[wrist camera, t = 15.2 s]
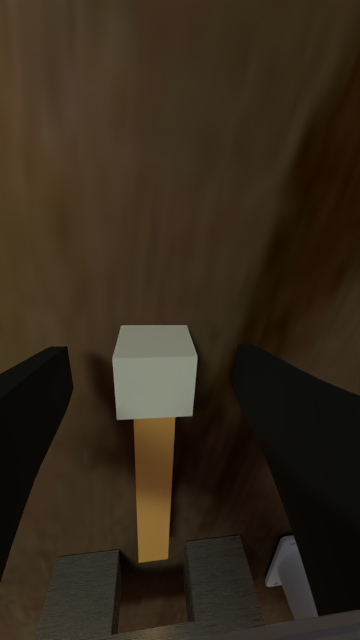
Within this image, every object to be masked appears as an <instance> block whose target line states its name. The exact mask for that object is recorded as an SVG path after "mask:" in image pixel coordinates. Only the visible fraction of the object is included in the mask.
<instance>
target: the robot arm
mask: <svg viewBox="0 0 360 640" xmlns="http://www.w3.org/2000/svg"><path fill="white" fill-rule="evenodd" d="M232 385H233V388H234V391H235V394H236V397H237V400H238V403H239V405H240V407H241V409H242V411H243V413H244V415H245V417H246V419H247V421H248V423H249V425H250V427H251V429H252V431H253V433H254V435H255V437H256V439H257V441H258V443H259V445H260V447H261V449H262V451H263V454H264V456H265V458H266V460H267V463H268V465H269V468H270V471H271V473H272V476H273V478H274V481H275V484H276V486H277V489H278V492H279V495H280V497H281V500H282V503H283V506H284V509H285V512H286V514H287V517H288V520H289V523H290V526H291V529H292V532H293V535H291V536H284V537H282V538H281V539H280V541H279V544H278V547H277V549H276V552H275V555H274V557H273V560H272V563H271V565H270V568H269V571H268V573H267V576H266V579H265V583H266V586H268V587H273V586H279V585H282V587H283V590H284V592H285V595H286V598H287V601H288V603H289V606H290V609H291V612H292V614H293V617H294V620H295V621H289V622H283V623H277V624H271V625H265V626H259V627H253V628H247V629H242V630H236V631H230V632H224V633H218V634H212V635H206V636H200V637H194V638H188V639H182V640H360V396H359V395H356V394H354V393H351V392H348V391H346V390H344V389H341V388H339V387H336V386H334V385H332V384H329V383H327V382H325V381H322V380H320V379H318V378H316V377H314V376H312V375H310V374H308V373H306V372H304V371H302V370H300V369H298V368H296V367H294V366H292V365H290V364H288V363H287V362H285V361H283V360H281V359H279V358H277V357H276V356H274V355H272V354H270V353H268V352H267V351H265V350H263V349H261V348H259V347H257V346H255V345H252V344H238V347H237V353H236V360H235V366H234V372H233V378H232ZM72 391H73V381H72V375H71V368H70V362H69V355H68V349H67V346H64V347H49V348H47V349H45V350H43V351H41V352H39V353H37V354H35V355H34V356H32V357H30V358H28V359H27V360H25V361H23V362H21V363H19V364H18V365H16V366H14V367H12V368H10V369H9V370H7V371H5V372H3V373H1V374H0V582H1V578H2V575H3V572H4V569H5V566H6V562H7V559H8V556H9V553H10V550H11V547H12V544H13V541H14V538H15V535H16V532H17V529H18V526H19V523H20V520H21V517H22V514H23V511H24V508H25V505H26V503H27V500H28V497H29V494H30V491H31V489H32V486H33V483H34V480H35V478H36V475H37V473H38V471H39V468H40V466H41V464H42V462H43V460H44V457H45V455H46V453H47V451H48V449H49V447H50V445H51V443H52V440H53V438H54V436H55V434H56V432H57V430H58V428H59V426H60V423H61V421H62V419H63V417H64V415H65V413H66V410H67V407H68V404H69V401H70V398H71V395H72Z"/></svg>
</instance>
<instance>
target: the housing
mask: <svg viewBox="0 0 360 640" xmlns="http://www.w3.org/2000/svg"><path fill="white" fill-rule="evenodd" d="M183 578H184V589H185V600H186V610H187V621H188V623H182V624H176V625H169V626H163V627H157V628H151V629H145V630H139V631H133V632H127V633H120V634H118V623H119V611H120V598H121V586H122V577H121V566H120V556H119V550H112V551H103V552H95V553H87V554H78V555H70V556H62V557H57V561H56V565H55V568H54V572H53V576H52V579H51V583H50V586H49V590H48V594H47V597H46V601H45V605H44V608H43V612H42V615H41V619H40V623H39V626H38V630H37V634H36V637H35V640H182V639H188V638H194V637H200V636H206V635H212V634H218V633H224V632H230V631H236V630H242V629H247V628H253V627H259V626H265V621H264V618H263V614H262V611H261V607H260V604H259V600H258V597H257V593H256V590H255V586H254V583H253V579H252V576H251V572H250V569H249V565H248V562H247V558H246V555H245V551H244V548H243V544H242V541H241V537H240V535H237V536H229V537H220V538H212V539H204V540H195V541H187V542H186V548H185V558H184V568H183Z"/></svg>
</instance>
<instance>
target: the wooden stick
mask: <svg viewBox="0 0 360 640" xmlns="http://www.w3.org/2000/svg"><path fill="white" fill-rule="evenodd" d="M197 358H198V356H197V353H196V350H195V348H194V345H193V342H192V339H191V336H190V333H189V330H188V328H187V325H142V326H121V329H120V332H119V336H118V340H117V343H116V347H115V351H114V354H113V358H112V359H113V373H114V387H115V401H116V415H117V420H126V419H134V442H135V470H136V498H137V526H138V554H139V563H140V562H148V561H155V560H163V559H168V546H169V528H170V509H171V490H172V471H173V453H174V434H175V417H183V416H192V414H193V403H194V392H195V381H196V369H197Z"/></svg>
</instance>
